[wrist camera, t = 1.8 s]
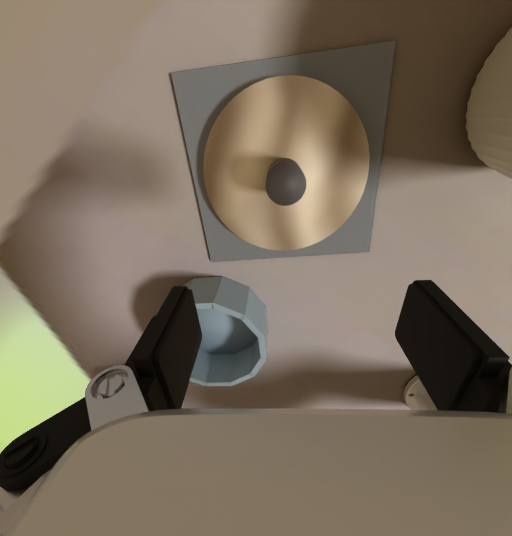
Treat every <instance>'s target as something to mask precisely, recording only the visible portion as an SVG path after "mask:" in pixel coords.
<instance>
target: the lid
mask: <svg viewBox="0 0 512 536" xmlns="http://www.w3.org/2000/svg"><path fill="white" fill-rule="evenodd" d="M369 158H370V156H369V145H368V140H367V136H366V132H365V129H364V127H363V124H362V121H361V120H360V118H359V116H358V114H357V112H356V111H355V109H354V108H353V107H352V105H351V104H350V103H349V102H348V100H347V99H346V98H345V97H343V96H342V95H341V94H340V93H339V92H338V91H336V90H335V89H333V88H332V87H331V86H329V85H327V84H325V83H323V82H321V81H319V80H316V79H312V78H309V77H305V76H296V75H285V76H276V77H272V78H267V79H265V80H262V81H259V82H257V83H254V84H253V85H251V86H249V87H248V88H246V89H244V90H243V91H241V92H240V93H239V94H238V95H236V96H235V97H234V98H233V99H232V100H231V101H230V102H229V103H228V104H227V105H226V106H225V107H224V109H223V110H222V112H221V113H220V114H219V116H218V117H217V119H216V121H215V123H214V125H213V127H212V129H211V131H210V134H209V137H208V139H207V143H206V147H205V152H204V161H203V173H204V181H205V187H206V190H207V194H208V197H209V200H210V202H211V205H212V206H213V208H214V210H215V212H216V214H217V215H218V217H219V218H220V219H221V221H222V222H223V223H224V224H225V225H226V226H227V228H228V229H229V230H231V231H232V232H233V233H234V234H235V235H237V236H238V237H240V238H241V239H243V240H244V241H246V242H248V243H250V244H252V245H255V246H258V247H261V248H265V249H269V250H278V251H283V250H295V249H300V248H304V247H308V246H310V245H313V244H316V243H318V242H320V241H321V240H323V239H325V238H327V237H328V236H330V235H331V234H333V233H334V232H335V231H336V230H337V229H338V228H340V227H341V226H342V225H343V224H344V223H345V221H346V220H347V219H348V218H349V217H350V215H351V214H352V213H353V211H354V210H355V208H356V206H357V205H358V203H359V201H360V199H361V196H362V194H363V192H364V189H365V186H366V182H367V178H368V172H369Z"/></svg>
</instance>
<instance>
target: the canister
mask: <svg viewBox="0 0 512 536" xmlns="http://www.w3.org/2000/svg"><path fill="white" fill-rule="evenodd" d="M467 105H468V108H467V113H466V120H467V123H466V129H467V132H468V140H469V141H470V142H471V148H472V149H473V150H474V151H475V152H476V155H477V157H478V158H479V159H480V160H482V161H484V163H485V164H486V165H487V166H488V167H490V168H492V169H494V170H496V171H498V172H499V173H501V174H503V175H505V176H507V177H510V178H512V27H511V28H510V29H509V30H508V32H507V33H506V35H505V37H504V38H503V39H501V40H500V41H499V42H498V43H497V44H496V46H495V48H494V50H493V52H492V53H491V54H490V56H489V57H488V58H487V59H486V60H485V62H484V66H483V68H482V69H481V71H480V72H479V73H478V75H477V79H476V81H475V84H474V86H473V87H472V89H471V95H470V99H469V101H468V102H467Z"/></svg>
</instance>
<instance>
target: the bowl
mask: <svg viewBox="0 0 512 536" xmlns="http://www.w3.org/2000/svg"><path fill="white" fill-rule="evenodd" d="M182 286H187V287H188V289H191V290H192V292H193V296H194V300H195V305H196V309H197V314H198V318H199V322H200V327H201V331H202V341H201V345H200V348H199V351H198V354H197V358H196V361H195V364H194V367H193V371H192V374H191V377H190V380H189V381H191V382H194V383H197V384H200V385H203V386H233V385H236V384H238V383H240V382H243V381H245V380H247V379H250V378H252V377H255V375H256V374H257V372H258V371H259V369H260V368H261V367H262V365H263V364H264V362H265V361H266V359H267V339H268V324H267V314H266V306H265V305H264V304H263V303H262V302H261V300H260V299H259V298H258V297H257V296H256V295H255V293H254V292H253V291H252V290H251V289H250V287H248V286H245V285H243V284H240V283H238V282H235V281H233V280H230V279H228V278H225V277H223V276H218V277H200V278H193V279H192V280H190V281H188V282H187V283H185V284H184V285H182Z"/></svg>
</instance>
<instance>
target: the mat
mask: <svg viewBox="0 0 512 536" xmlns="http://www.w3.org/2000/svg"><path fill="white" fill-rule="evenodd" d="M395 44H396V40H394V41H387V42H380V43H373V44H367V45H360V46H353V47H346V48H339V49H332V50H325V51H318V52H312V53H305V54H298V55H291V56H284V57H277V58H270V59H264V60H257V61H250V62H243V63H236V64H229V65H222V66H215V67H209V68H202V69H195V70H188V71H181V72H174V73H171V76H172V80H173V85H174V90H175V95H176V99H177V104H178V109H179V113H180V118H181V123H182V127H183V132H184V137H185V141H186V146H187V151H188V156H189V160H190V165H191V170H192V174H193V179H194V184H195V188H196V193H197V198H198V203H199V207H200V212H201V217H202V221H203V226H204V231H205V235H206V240H207V245H208V249H209V254H210V259H211V262H219V261H235V260H250V259H266V258H282V257H297V256H313V255H329V254H345V253H360V252H369V251H370V243H371V235H372V227H373V219H374V211H375V203H376V195H377V187H378V179H379V171H380V163H381V155H382V147H383V139H384V131H385V123H386V116H387V108H388V100H389V92H390V84H391V76H392V68H393V60H394V52H395ZM285 75H296V76H305V77H309V78H312V79H316V80H319V81H321V82H323V83H325V84H327V85H329V86H331V87H332V88H333V89H335V90H336V91H338V92H339V93H340V94H341V95H342V96H343V97H345V98H346V99H347V100H348V102H349V103H350V104H351V105H352V107H353V108H354V109H355V111H356V112H357V114H358V116H359V118H360V120H361V121H362V124H363V127H364V129H365V132H366V136H367V140H368V145H369V156H370V158H369V172H368V178H367V182H366V186H365V189H364V192H363V194H362V196H361V199H360V201H359V203H358V205H357V206H356V208H355V210H354V211H353V213H352V214H351V215H350V217H349V218H348V219H347V220H346V221H345V223H344V224H343V225H342V226H341V227H340V228H338V229H337V230H336V231H335V232H334V233H333V234H331V235H330V236H328V237H327V238H325V239H323V240H321V241H320V242H318V243H316V244H313V245H310V246H308V247H304V248H300V249H295V250H283V251H278V250H269V249H265V248H261V247H258V246H255V245H252V244H250V243H248V242H246V241H244V240H243V239H241V238H240V237H238V236H237V235H235V234H234V233H233V232H232V231H231V230H229V229H228V228H227V226H226V225H225V224H224V223H223V222H222V221H221V219H220V218H219V217H218V215H217V214H216V212H215V210H214V208H213V206H212V205H211V202H210V200H209V197H208V194H207V190H206V187H205V181H204V173H203V161H204V152H205V147H206V143H207V139H208V137H209V134H210V131H211V129H212V127H213V125H214V123H215V121H216V119H217V117H218V116H219V114H220V113H221V112H222V110H223V109H224V107H225V106H226V105H227V104H228V103H229V102H230V101H231V100H232V99H233V98H234V97H235V96H236V95H238V94H239V93H240V92H241V91H243V90H244V89H246V88H248V87H249V86H251V85H253V84H254V83H257V82H259V81H262V80H265V79H267V78H272V77H276V76H285Z"/></svg>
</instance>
